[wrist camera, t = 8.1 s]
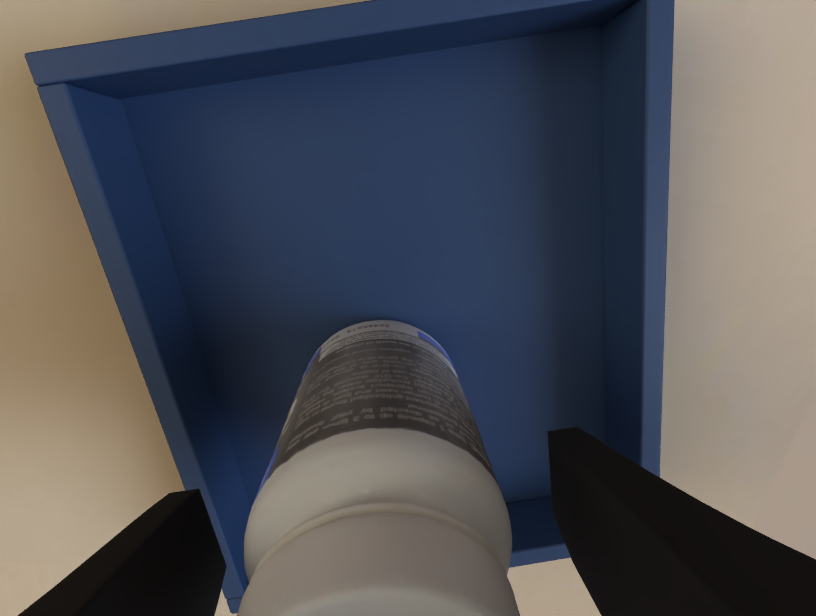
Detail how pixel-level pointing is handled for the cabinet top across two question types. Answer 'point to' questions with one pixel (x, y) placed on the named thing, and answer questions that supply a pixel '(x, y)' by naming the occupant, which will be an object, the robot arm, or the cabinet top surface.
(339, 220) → the blue tray
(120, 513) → the cabinet top surface
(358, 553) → the pill bottle
